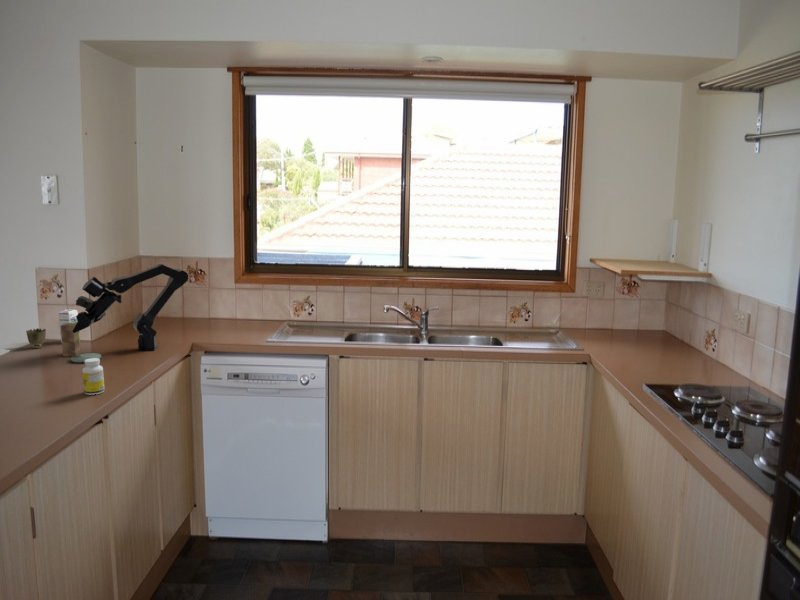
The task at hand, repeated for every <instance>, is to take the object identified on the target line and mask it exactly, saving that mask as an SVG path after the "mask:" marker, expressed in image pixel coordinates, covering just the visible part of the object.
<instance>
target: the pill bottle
mask: <svg viewBox="0 0 800 600" xmlns="http://www.w3.org/2000/svg"><path fill="white" fill-rule="evenodd" d="M100 363H101V359H98V358H90V359H86V360H85V362H84V365H85V366H84V367H83V368H82V381H83V382H82V383H83V393H84V394H85V395H87V396H88V395H89V396H94V395H95V394H96V395H100V394H102V393H104V392H105V390H106V389H105V378H104V377H105V375H104V368H103V366H102V365H100Z"/></svg>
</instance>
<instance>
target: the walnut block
mask: <svg viewBox="0 0 800 600" xmlns="http://www.w3.org/2000/svg"><path fill="white" fill-rule="evenodd" d="M76 324H77V323H65V324H63V325H61V336H62V343H61V345H62V346H61V347H62V357H73V356H75V355H79V354H81V344H80V341H79V332H80V331H78V332H76V333H73V332H72V331H73V329H74V327H75V326H76ZM61 336H60V337H61Z"/></svg>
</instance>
